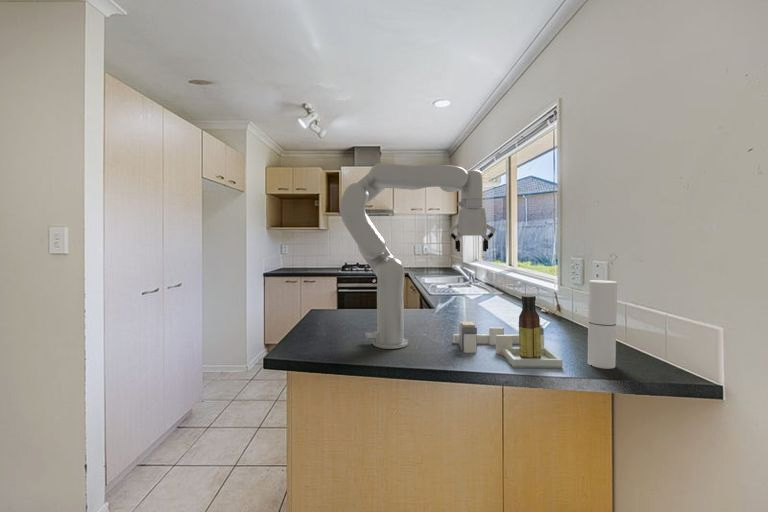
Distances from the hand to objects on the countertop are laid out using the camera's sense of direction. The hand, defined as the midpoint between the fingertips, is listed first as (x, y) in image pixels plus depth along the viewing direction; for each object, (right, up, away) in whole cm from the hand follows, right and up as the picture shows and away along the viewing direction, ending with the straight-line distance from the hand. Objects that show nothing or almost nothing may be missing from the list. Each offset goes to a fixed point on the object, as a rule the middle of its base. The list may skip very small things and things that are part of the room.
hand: (471, 251), depth 134 cm
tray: (+13, -34, -22) cm, 43 cm away
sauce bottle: (+13, -34, -22) cm, 42 cm away
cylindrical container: (+33, -34, -26) cm, 54 cm away
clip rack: (+8, -34, -9) cm, 36 cm away
